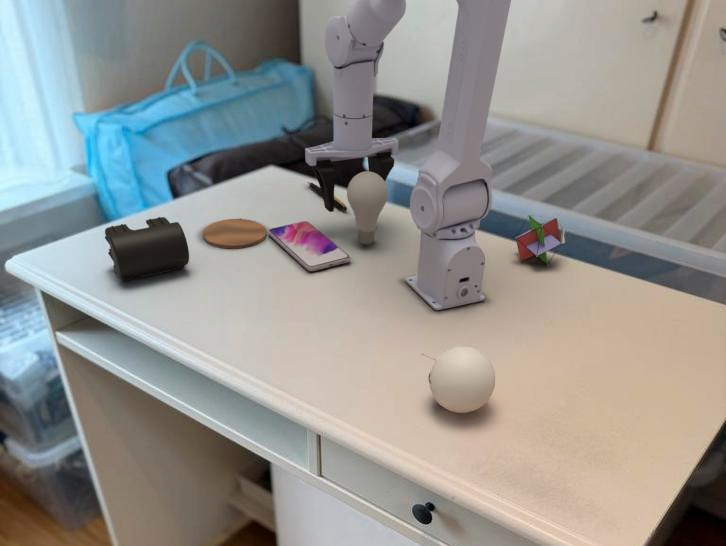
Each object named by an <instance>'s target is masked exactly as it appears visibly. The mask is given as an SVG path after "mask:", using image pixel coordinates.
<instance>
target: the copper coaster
mask: <svg viewBox="0 0 726 546" xmlns="http://www.w3.org/2000/svg"><path fill="white" fill-rule="evenodd" d="M266 237H267V228H266V227H265V226H264V224H263V223H260V222H258V221H254V220H252V219H251V220H250V219H247V218H246V219H245V218H228V219H221V220H218V221H215V222H213V223H212V222H211V223H210V224H208V225H207V226H205V228H204V229H203V230H202V238H203V240H204V241H205V242H206V243H207V244H209V245H210V246H214V247H216V248H222V249H243V248H249V247H253V246H255V245H258V244H259V243H262V242H263V241H264V240H265V239H266Z"/></svg>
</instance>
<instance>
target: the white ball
mask: <svg viewBox="0 0 726 546" xmlns="http://www.w3.org/2000/svg"><path fill="white" fill-rule="evenodd" d="M421 355H422V356H424V357H427V358H429V359H431V360H434V362H433V364H432V365H431V370H430V372H429V374H428V383H429V390H430V392H431V394H432V396H433V398H434V401H436V403H438V404H439V405H440V406H441V407H443V408H444V409H446V410H447V411H449V412H453V413H456V414H467V413H471V412H474V411H477V410H478V409H480V408H482V407H483V406H484V405H486V403H487V402H488V401H489V399H490V398H491V397H492V395H493V393H494V390H495V388H496V371H495V368H494V366H493V364H492V362H491V360H490V358H489V357H487V355H486V354H484V353H483V351H481V350H479V349H477V348H475V347H471V346H466V345H465V346H461V345H460V346H455V347H452V348H449V349H448V350H446V351H444V352H442V353H441V354H440V355H439V356H438V357H437V359H436V358H432V357H430V356H428V355H425V354H423V353H421Z"/></svg>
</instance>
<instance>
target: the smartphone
mask: <svg viewBox="0 0 726 546" xmlns="http://www.w3.org/2000/svg"><path fill="white" fill-rule="evenodd" d="M267 233H268V236H270V237H271V238H272V240H274V241H275V242H276V243H277V244H278V245H279V246H280V247H282V248H283V249H284V250H285V251H286V252H287V253H288V254H289V255H290V256H292V258H294V259H295V260H296V261H297V262H298V263H299V264H300V265H301V266H302V267H303V268H305V269H306V270H307V271H309V272H315V271H319V270H320V271H321V270H323V269H328V268H331V267H335V266H339V265H343V264H346V263H349V262H351V256H350V254H348V253H347V252H346V251H344V249H342V248H341V247H340V246H338V245H337V244H336V243H335V242H333V241H332V240H331V239H330V238H329V237H327V236H326V235H325V234H323V232H322V231H320V230H319V229H318V228H316V227H315V226H314V225H313V224H311V222H309V221H306V220H304V221H299V222H294V223H290V224H285V225H282V226H275V227H273V228H269V229H268V232H267Z"/></svg>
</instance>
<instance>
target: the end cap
mask: <svg viewBox="0 0 726 546" xmlns="http://www.w3.org/2000/svg"><path fill="white" fill-rule="evenodd" d="M145 223H146V225H147V226H148V227H143V228H139V229H138V228H137V229H131V228H130V227H129V226H128V225H127V224H126V223H124V224H123V223H121V224H118V225H111V226H108V227H106V228H105V230H104V235H105V236H104V239H105V241H106V242H107V243H108V245H109V248H108V252H107V254H108V255H109V257H110V259H111V260H112V262H113V271H114V272H115V275H116V277H117V278H118V279H120V281H122V282H125V281H129V280H134V279H139V278H144V277H148V276H153V275H157V274H161V273H166V272H171V271H175V270H180V269H184V268H185V266H187V265H188V264H189V261H190V251H189V245H188V241H187V237H186V235H185V232H184V230H183V228H182V226H181V224H180V223H179V222H178V221H176V222H175V221H174V222H170V221H169V220H168V219H167V218H166V217H165V216H161V217H160V216H158V217H155V218H149V219H146V220H145Z"/></svg>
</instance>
